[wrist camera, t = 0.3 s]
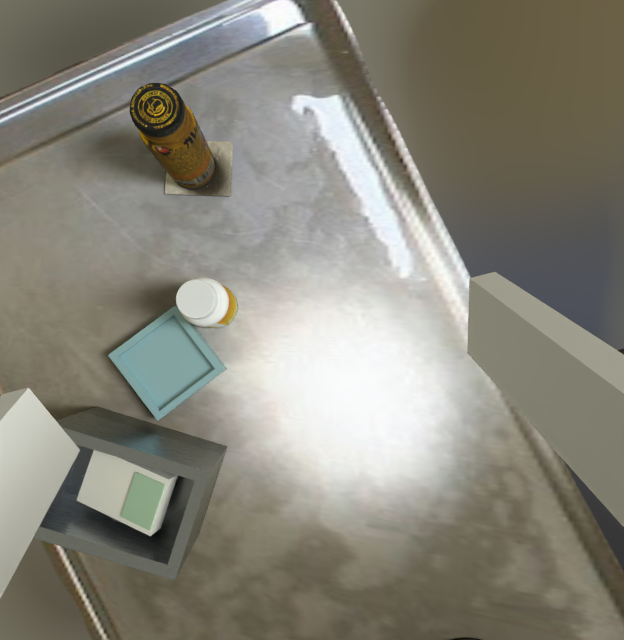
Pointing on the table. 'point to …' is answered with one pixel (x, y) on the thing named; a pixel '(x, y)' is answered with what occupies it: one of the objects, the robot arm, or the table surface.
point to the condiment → (181, 143)
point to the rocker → (127, 491)
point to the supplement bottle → (207, 303)
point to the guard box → (147, 449)
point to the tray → (167, 362)
